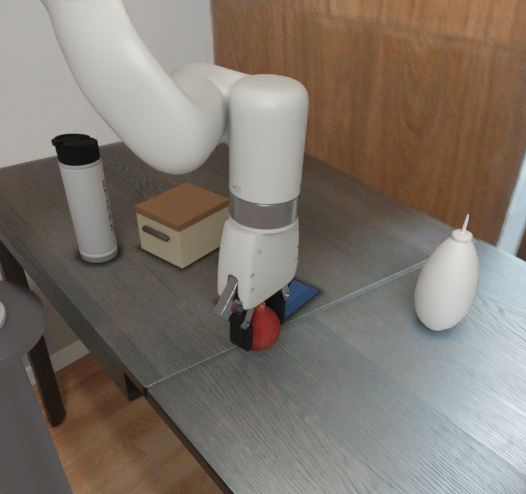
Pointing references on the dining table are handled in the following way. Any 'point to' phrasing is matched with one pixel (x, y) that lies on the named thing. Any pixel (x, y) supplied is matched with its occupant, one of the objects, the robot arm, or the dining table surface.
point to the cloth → (295, 297)
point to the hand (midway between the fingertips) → (257, 332)
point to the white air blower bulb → (448, 281)
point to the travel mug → (87, 196)
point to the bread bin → (182, 223)
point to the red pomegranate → (264, 327)
